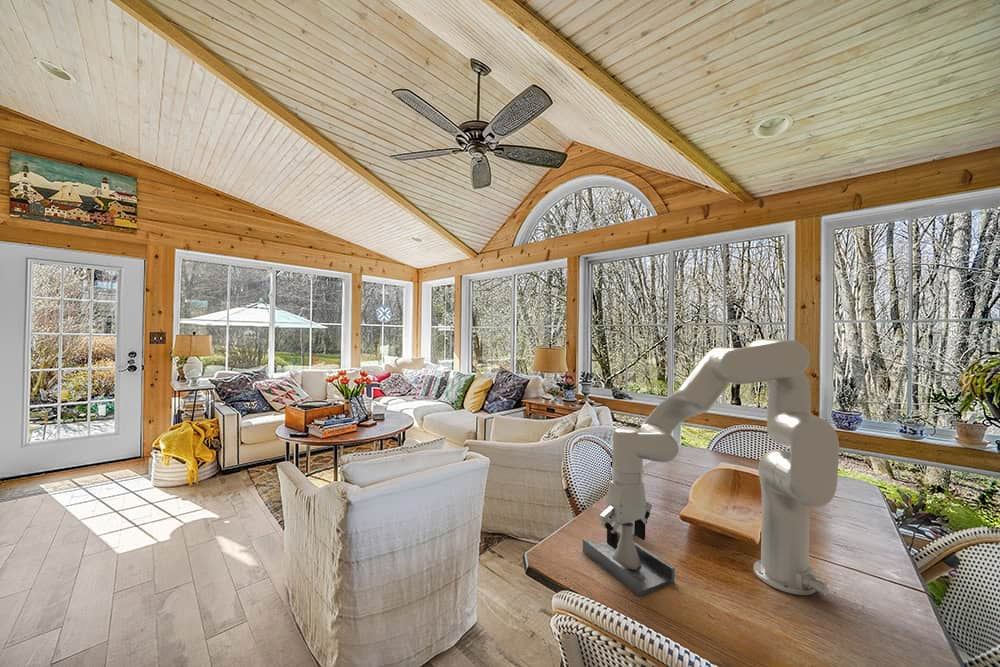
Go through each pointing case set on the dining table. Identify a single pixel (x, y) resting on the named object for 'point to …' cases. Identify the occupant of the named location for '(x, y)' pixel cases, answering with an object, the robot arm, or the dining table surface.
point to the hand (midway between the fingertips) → (626, 541)
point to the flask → (627, 549)
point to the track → (638, 581)
